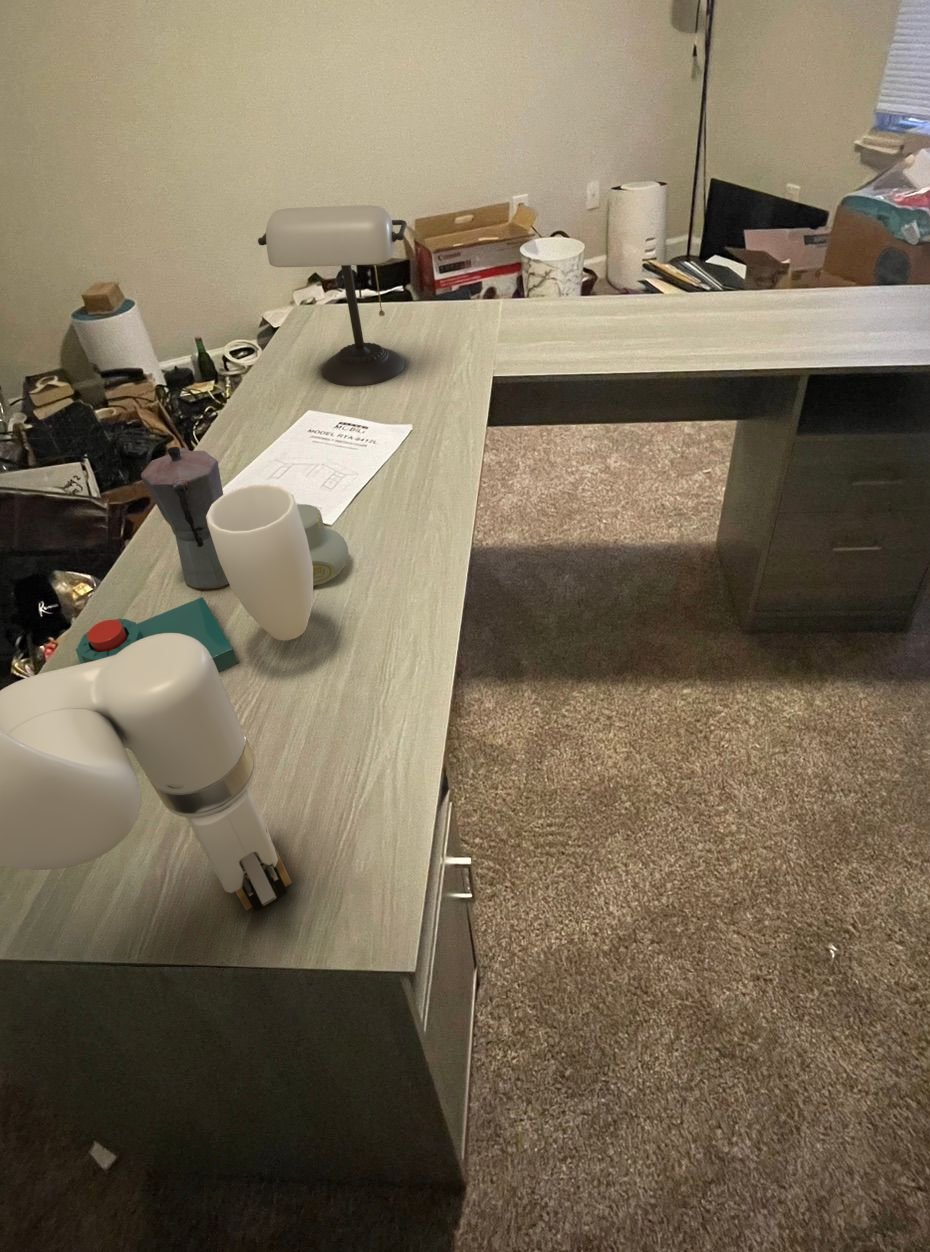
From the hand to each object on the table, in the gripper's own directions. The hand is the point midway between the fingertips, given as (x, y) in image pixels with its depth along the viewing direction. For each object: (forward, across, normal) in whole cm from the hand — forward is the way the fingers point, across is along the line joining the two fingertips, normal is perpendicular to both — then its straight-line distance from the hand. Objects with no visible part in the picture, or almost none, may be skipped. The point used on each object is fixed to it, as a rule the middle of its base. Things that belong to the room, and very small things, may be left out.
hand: (259, 876), depth 70 cm
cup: (+1, -28, +15) cm, 32 cm away
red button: (-4, -38, -4) cm, 38 cm away
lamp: (+1, -95, +58) cm, 111 cm away
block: (0, 0, 0) cm, 0 cm away
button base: (0, -35, 0) cm, 35 cm away
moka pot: (+1, -48, +12) cm, 50 cm away
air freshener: (+1, -40, +23) cm, 46 cm away
